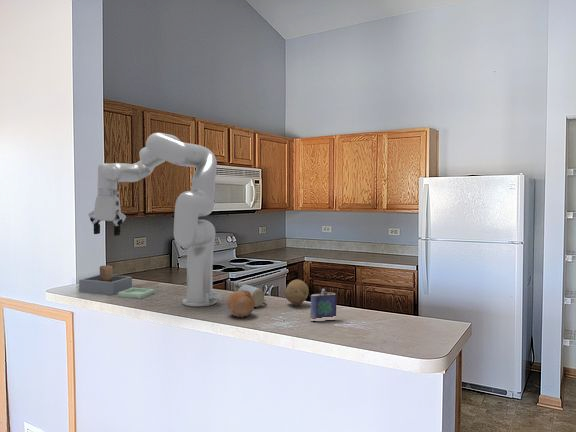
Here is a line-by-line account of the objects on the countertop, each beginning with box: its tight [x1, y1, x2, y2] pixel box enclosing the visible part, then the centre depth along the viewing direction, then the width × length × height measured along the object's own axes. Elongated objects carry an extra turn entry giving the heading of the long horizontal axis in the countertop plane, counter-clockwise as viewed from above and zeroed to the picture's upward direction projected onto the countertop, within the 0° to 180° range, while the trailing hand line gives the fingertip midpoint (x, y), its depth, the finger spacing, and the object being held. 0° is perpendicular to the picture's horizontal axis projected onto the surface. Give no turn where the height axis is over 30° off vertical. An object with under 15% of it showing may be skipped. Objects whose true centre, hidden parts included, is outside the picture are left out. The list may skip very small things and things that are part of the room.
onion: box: [226, 290, 255, 318], centre depth 156 cm, size 10×9×10 cm
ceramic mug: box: [237, 284, 267, 308], centre depth 171 cm, size 11×8×8 cm
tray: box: [117, 287, 155, 300], centre depth 183 cm, size 10×10×2 cm
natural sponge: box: [284, 279, 310, 306], centre depth 172 cm, size 9×9×10 cm
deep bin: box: [78, 273, 133, 296], centre depth 191 cm, size 16×13×5 cm
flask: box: [309, 288, 338, 319], centre depth 153 cm, size 9×3×11 cm, turn 109°
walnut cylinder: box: [99, 265, 113, 282], centre depth 191 cm, size 5×5×10 cm
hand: (106, 234), depth 190 cm, fingers open, 9 cm apart
